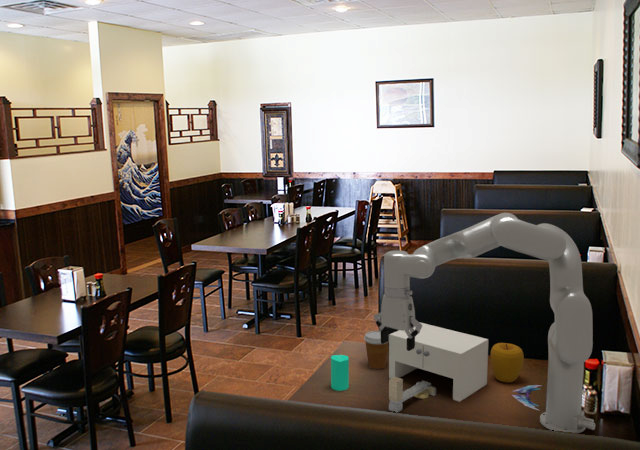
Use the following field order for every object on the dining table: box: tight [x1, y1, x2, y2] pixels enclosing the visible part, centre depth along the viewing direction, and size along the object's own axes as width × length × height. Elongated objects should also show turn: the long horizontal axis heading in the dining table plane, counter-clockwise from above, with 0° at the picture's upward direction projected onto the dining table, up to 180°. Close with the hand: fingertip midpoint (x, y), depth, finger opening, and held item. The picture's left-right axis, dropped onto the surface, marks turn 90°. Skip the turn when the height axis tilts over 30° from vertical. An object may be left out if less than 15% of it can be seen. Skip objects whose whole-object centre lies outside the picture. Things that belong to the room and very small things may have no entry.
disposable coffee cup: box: [363, 330, 389, 370], centre depth 220 cm, size 10×10×12 cm
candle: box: [330, 354, 350, 392], centre depth 202 cm, size 6×6×12 cm
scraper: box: [388, 377, 437, 414], centre depth 191 cm, size 19×7×10 cm, turn 137°
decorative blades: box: [511, 384, 543, 411], centre depth 195 cm, size 20×1×10 cm
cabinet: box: [388, 321, 489, 403], centre depth 206 cm, size 28×19×16 cm
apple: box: [490, 342, 525, 383], centre depth 207 cm, size 11×11×13 cm
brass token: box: [413, 390, 430, 400], centre depth 196 cm, size 5×5×1 cm
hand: (397, 346), depth 183 cm, fingers open, 9 cm apart
